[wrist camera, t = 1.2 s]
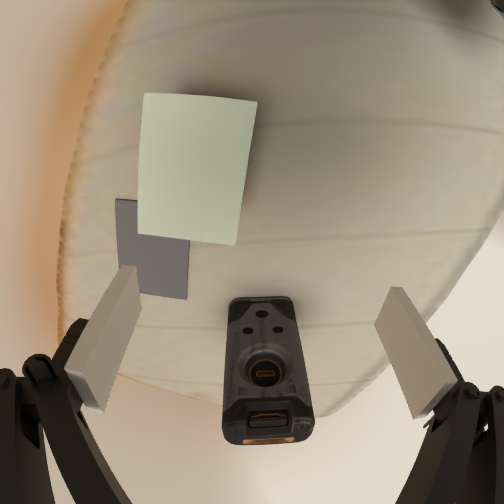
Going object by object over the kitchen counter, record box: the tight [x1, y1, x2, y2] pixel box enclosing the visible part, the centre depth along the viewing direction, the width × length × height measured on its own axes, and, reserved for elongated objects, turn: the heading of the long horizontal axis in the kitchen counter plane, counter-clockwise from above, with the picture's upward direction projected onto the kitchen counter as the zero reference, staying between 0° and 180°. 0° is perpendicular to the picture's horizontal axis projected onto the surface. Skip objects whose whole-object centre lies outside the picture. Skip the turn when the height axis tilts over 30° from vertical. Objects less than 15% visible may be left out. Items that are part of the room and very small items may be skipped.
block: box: [138, 93, 258, 246], centre depth 25 cm, size 12×9×4 cm
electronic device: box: [222, 297, 315, 445], centre depth 34 cm, size 9×6×20 cm, turn 92°
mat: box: [115, 199, 190, 300], centre depth 38 cm, size 14×10×1 cm
